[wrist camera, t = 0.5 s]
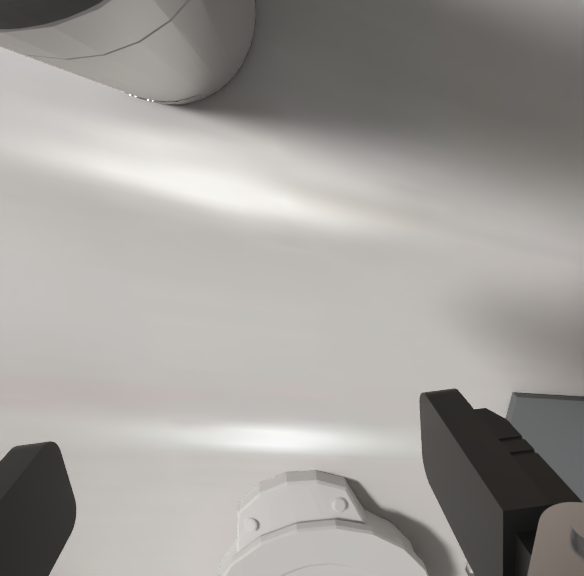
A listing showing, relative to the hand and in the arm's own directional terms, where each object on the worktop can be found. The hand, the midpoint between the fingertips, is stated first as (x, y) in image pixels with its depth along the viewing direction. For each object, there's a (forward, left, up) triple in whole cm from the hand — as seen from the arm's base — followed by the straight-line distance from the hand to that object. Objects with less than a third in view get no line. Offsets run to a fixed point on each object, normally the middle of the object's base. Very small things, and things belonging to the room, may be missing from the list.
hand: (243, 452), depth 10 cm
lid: (+25, +6, -19) cm, 33 cm away
